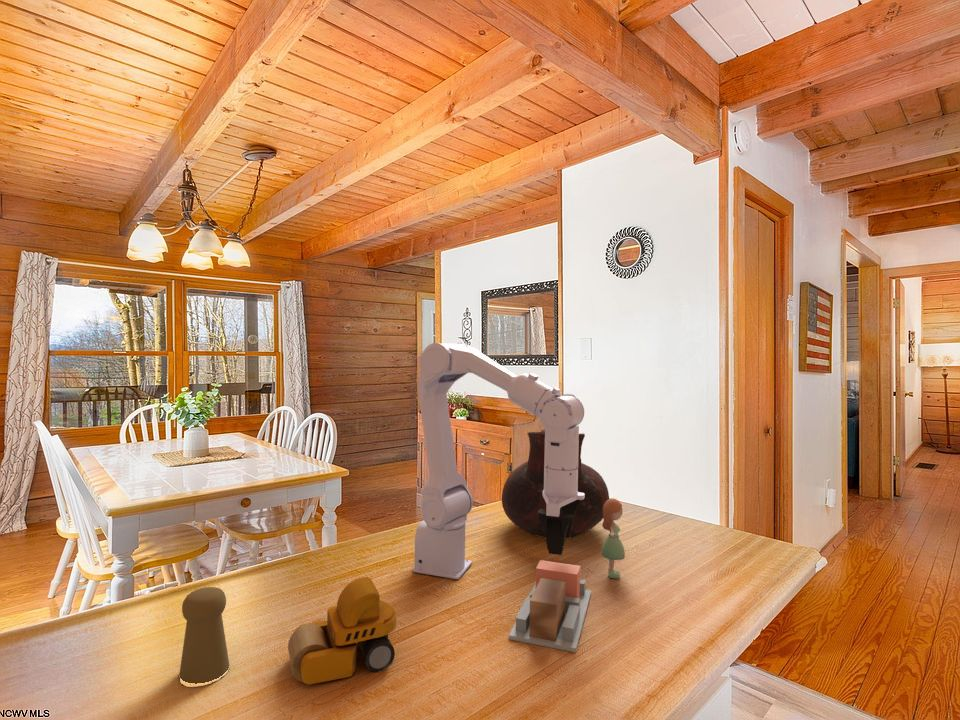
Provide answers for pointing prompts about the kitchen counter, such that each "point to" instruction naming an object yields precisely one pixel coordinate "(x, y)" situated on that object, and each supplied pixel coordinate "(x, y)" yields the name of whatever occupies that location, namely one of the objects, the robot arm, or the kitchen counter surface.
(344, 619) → the toy road roller
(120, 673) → the kitchen counter surface
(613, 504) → the toy
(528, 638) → the jig
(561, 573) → the pink block
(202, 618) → the brown pawn figure
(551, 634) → the small taupe brick
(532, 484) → the jug
